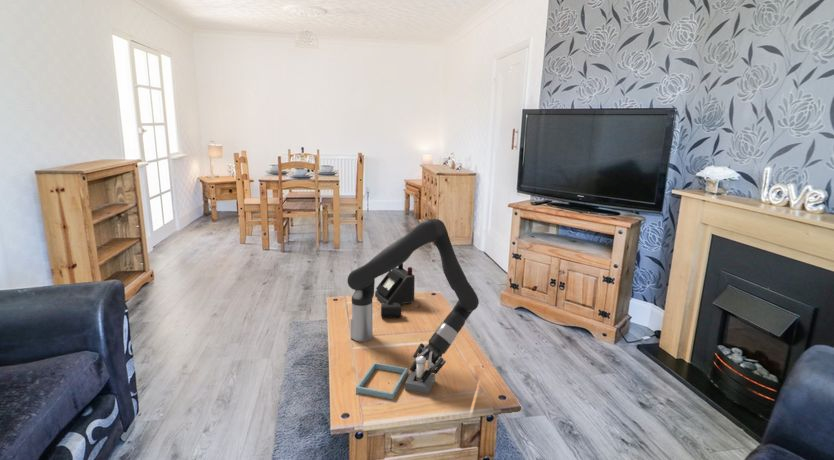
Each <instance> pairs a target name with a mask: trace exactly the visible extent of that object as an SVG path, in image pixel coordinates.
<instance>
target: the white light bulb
mask: <svg viewBox="0 0 834 460" xmlns="http://www.w3.org/2000/svg"><path fill="white" fill-rule="evenodd" d="M426 362H427V360H426V358H425V357H423V356H419V357H417V358H416V363H417V369H416V371H417V373H416V381H418V382H424V381H423V380H422V379H420V377H421V376H422V374H423V373H424V372H425V370H426ZM424 383H425V382H424Z"/></svg>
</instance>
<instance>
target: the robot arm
mask: <svg viewBox="0 0 834 460" xmlns="http://www.w3.org/2000/svg"><path fill="white" fill-rule="evenodd" d="M429 243H434V245H435V247H436V248H437V251H438V252H439V256H440V261H441V265H442V271H443V273H444V276H445V278H446V280H447V282H448V285H449V286H450V288H451V290H452V291H453V292H454V293H455V296H456V297H457V299H458V300H457V301H456V303H455V305H454V306H453V308H452V310H451V311H450V312H449V313H448V315H447V316H446V318H444V320H443V321H442V323H441V324H440V325H439V326H438V327H437V329H436V330H435V332H434V333H433V334H432V335H431V336H430V338H429V339H428V344H427V345H425V344H423V343H420V344H419V345H418V347H417V348H416V350H415V352H414V354H413V355H412V357H413V358H414V361H413V362H412V363H411V365H410V367H409V370H410V371H412V372H414V371H417V363H416V358H417V357H419V356H423V357H425V358H426V361H427V367H426V369H425V372H424V373H423V374H422V376H421V377H420V379H422V380H423V381H425V380H427V378H428V377H429V375H430V374H431V373H432V374H435V375H437V374H438V372H439V371H440V370H441V369H442V368H443V366H444V365H445V364H446V360H445V359H444V358H443V357H442V356H443V355H444V354H446V352H447V351H448V349H449V348H450V347H451V345H452V344H453V343H454V342H455V340H456V338H457V336H458V334H459V333H460V332H461V330H462V328H463V327H464V325H465V323H466V321H467V320H468V318H469V317H470V316H471V314H472V313H473V312H474V311H475V310H476V309H478V307H479V303H480V301H479V298H478V295H477V293H476V292H475V290H474V288H473V286H472V285H471V284H470V282H469V281H468V279H467V277H466V275H465V273H464V271H463V268H462V267H461V265H460V263H459V260H458V258H457V256H456V254H455V251H454V248H453V244H452V241H451V239H450V236H449V233H448V230H447V227H446V225H445V223H444V222H443V221H442V220H441V219H438V218H427V219H423V220H422V221H421V222H419V223H418V224H417V225H416V226H415V227H414V228H413V229H412V230H410V231H409V232H408V233H407V234H405V235H404V236H402V237H401V238H398V239H397V240H396V241H394V242H392V243H391V244H389V245H388V246H386V247H385V248H384V249H382V250H381V251H380V252H379V253H378V254H376V255H375V256H374V257H373V258H372V259H371V260H369V261H368V262H367V263H365V264H363V265H362V266H360V267H358V268H355V269H354V270H352V271H351V272H350V273H349V274H348V275H347V276H348V277H347V285H348V287H349V288H350V289H352V290H353V291H354V292H353V294H352V296H351V318H350V321H349V322H350V323H349V324H350V325H349V326H350V327H349V328H350V339H353V340H354V341H356V342H361V343H362V342H363V343H364V342H367V341H368V342H369V341H371V340H372V339H373V334H374V333H373V320H374V319H373V298H374V297H375V284H376V283H375V280H376V279H377V278H378V277H380V276H383V275H385V274H388V272H389V271H392V270H393V269H394V268H398V266H399V265H401V264H402V263H403V264H404V263H405V262H406V261H408V259H410V257H411V256H412V254H413V253H414V252H415V251H416V250H418V249H419V248H422V247H423V246H425V245H427V244H429Z"/></svg>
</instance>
